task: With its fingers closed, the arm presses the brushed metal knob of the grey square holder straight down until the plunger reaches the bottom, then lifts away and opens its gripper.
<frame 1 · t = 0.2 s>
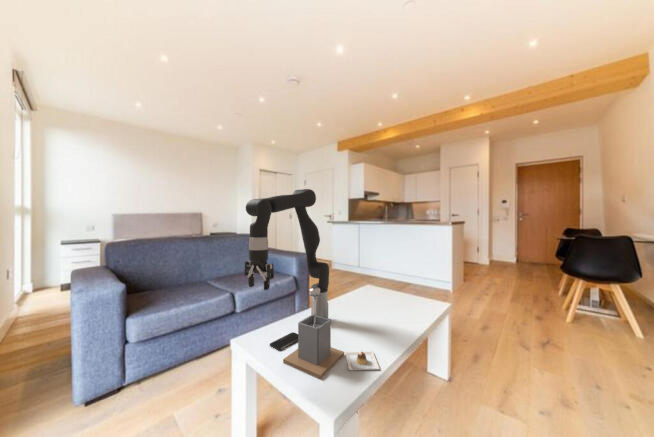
hand: (258, 288, 96), 30 cm above the table, tool pointing down, fingers open, 8 cm apart
plunger: (314, 309, 98), point 21 cm above the table, slide at 0.0 cm
dessert: (361, 363, 96), on the table
phone: (286, 343, 111), on the table
grey square holder: (314, 359, 98), on the table
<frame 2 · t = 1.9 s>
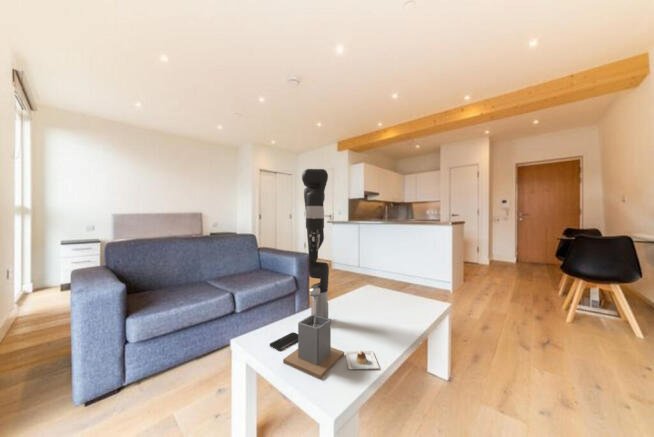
hand: (314, 259, 98), 41 cm above the table, tool pointing down, fingers closed
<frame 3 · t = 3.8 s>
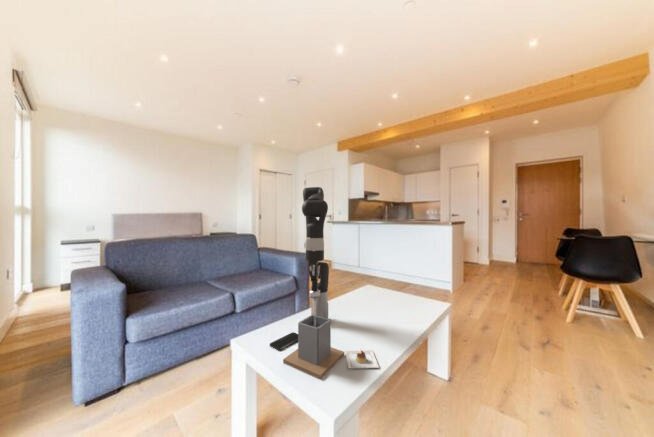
hand: (314, 290, 98), 28 cm above the table, tool pointing down, fingers closed
plunger: (314, 310, 98), point 20 cm above the table, slide at 0.8 cm, touching gripper
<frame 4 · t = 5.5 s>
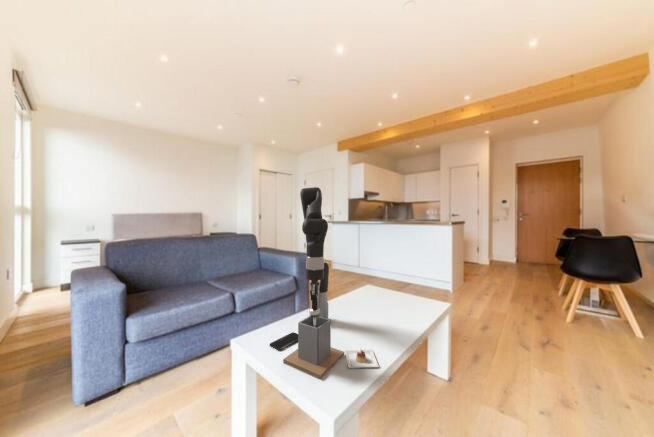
hand: (314, 309, 98), 21 cm above the table, tool pointing down, fingers closed
plunger: (314, 329, 98), point 12 cm above the table, slide at 8.4 cm, touching gripper
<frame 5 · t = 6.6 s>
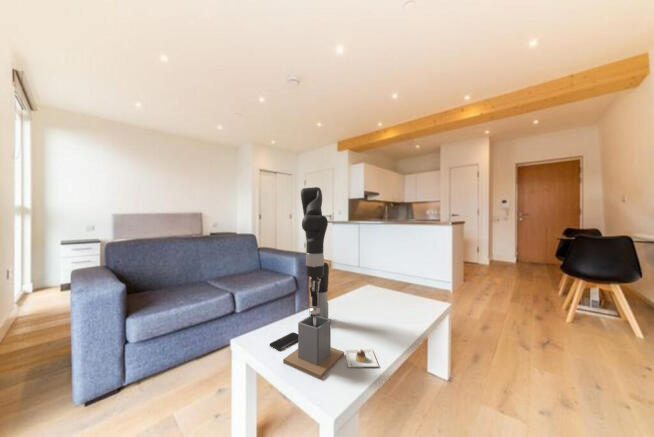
hand: (314, 305, 98), 22 cm above the table, tool pointing down, fingers closed
plunger: (314, 328, 98), point 12 cm above the table, slide at 8.1 cm
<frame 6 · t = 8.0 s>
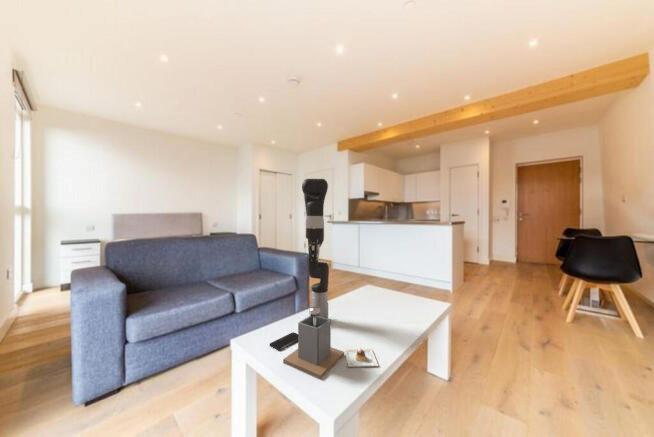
hand: (314, 268, 98), 37 cm above the table, tool pointing down, fingers open, 4 cm apart
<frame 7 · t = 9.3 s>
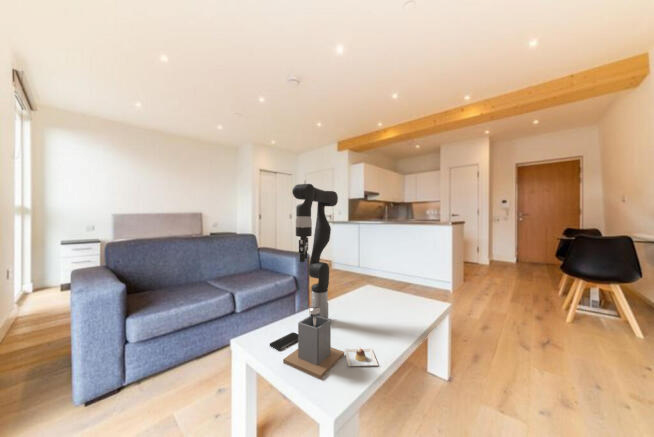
hand: (303, 260, 112), 38 cm above the table, tool pointing down, fingers open, 8 cm apart
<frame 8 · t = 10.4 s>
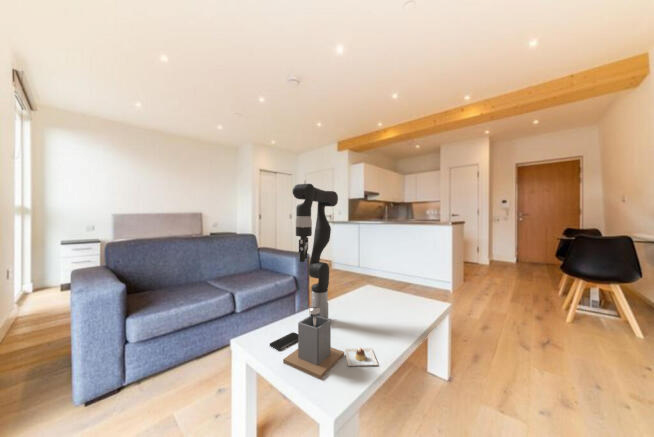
hand: (303, 260, 112), 38 cm above the table, tool pointing down, fingers open, 8 cm apart
at the end: plunger slide at 8.1 cm; dessert moved 2.9 cm from its start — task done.
